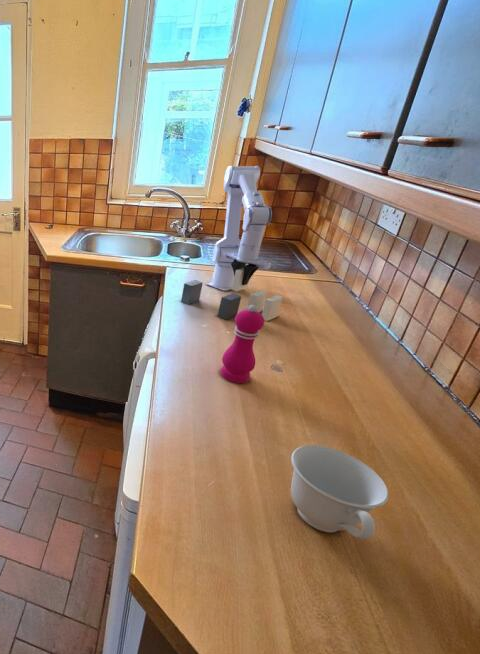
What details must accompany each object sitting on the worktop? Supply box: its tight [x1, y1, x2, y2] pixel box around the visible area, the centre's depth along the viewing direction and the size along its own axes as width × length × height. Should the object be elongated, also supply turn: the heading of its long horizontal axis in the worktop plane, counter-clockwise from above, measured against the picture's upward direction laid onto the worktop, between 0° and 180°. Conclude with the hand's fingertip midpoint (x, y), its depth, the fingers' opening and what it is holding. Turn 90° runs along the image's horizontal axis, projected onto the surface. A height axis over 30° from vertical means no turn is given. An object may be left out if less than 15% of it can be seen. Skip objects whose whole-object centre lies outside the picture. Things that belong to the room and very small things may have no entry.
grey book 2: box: [216, 292, 242, 320], centre depth 132 cm, size 6×3×7 cm, turn 120°
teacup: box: [290, 444, 390, 540], centre depth 64 cm, size 12×15×10 cm
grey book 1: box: [180, 279, 204, 305], centre depth 143 cm, size 6×3×7 cm, turn 120°
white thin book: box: [231, 268, 250, 292], centre depth 136 cm, size 6×2×7 cm, turn 120°
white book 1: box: [246, 289, 268, 313], centre depth 134 cm, size 6×2×7 cm, turn 120°
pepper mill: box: [220, 305, 265, 384], centre depth 99 cm, size 7×7×20 cm
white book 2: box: [261, 294, 284, 322], centre depth 130 cm, size 6×2×7 cm, turn 120°
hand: (240, 283), depth 137 cm, fingers closed on white thin book, 2 cm apart
